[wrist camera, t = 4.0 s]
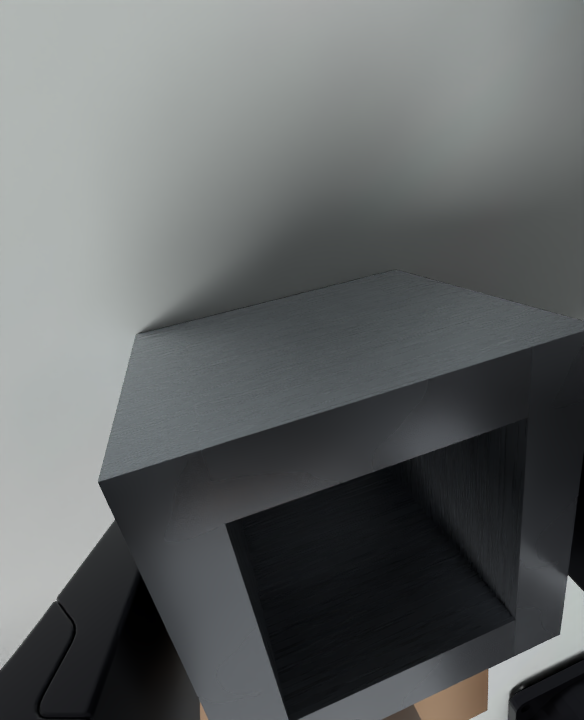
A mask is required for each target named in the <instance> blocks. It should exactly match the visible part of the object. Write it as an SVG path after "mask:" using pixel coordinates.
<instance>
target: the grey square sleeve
mask: <svg viewBox="0 0 584 720" xmlns="http://www.w3.org/2000/svg"><path fill="white" fill-rule="evenodd" d="M583 454H584V321H582V320H579V319H575V318H571V317H568V316H564V315H560V314H557V313H553V312H549V311H546V310H542V309H538V308H535V307H531V306H527V305H524V304H520V303H517V302H513V301H509V300H506V299H502V298H498V297H495V296H491V295H487V294H484V293H480V292H476V291H473V290H469V289H465V288H462V287H458V286H454V285H451V284H447V283H443V282H440V281H436V280H432V279H429V278H425V277H422V276H418V275H414V274H411V273H407V272H403V271H400V270H393V271H389V272H385V273H381V274H377V275H373V276H369V277H365V278H361V279H357V280H353V281H349V282H345V283H341V284H337V285H333V286H329V287H325V288H321V289H317V290H313V291H309V292H305V293H301V294H297V295H293V296H289V297H285V298H281V299H277V300H273V301H269V302H265V303H261V304H257V305H253V306H249V307H245V308H241V309H237V310H233V311H229V312H225V313H221V314H217V315H213V316H209V317H205V318H201V319H197V320H193V321H189V322H185V323H181V324H177V325H173V326H169V327H165V328H161V329H157V330H153V331H149V332H145V333H141V334H137V335H136V336H135V340H134V344H133V348H132V352H131V356H130V360H129V364H128V367H127V371H126V375H125V379H124V383H123V387H122V391H121V395H120V398H119V402H118V406H117V410H116V414H115V418H114V422H113V426H112V429H111V433H110V437H109V441H108V445H107V449H106V453H105V457H104V460H103V464H102V468H101V472H100V476H99V480H98V483H99V485H100V487H101V490H102V492H103V494H104V496H105V498H106V500H107V503H108V505H109V507H110V509H111V511H112V513H113V515H114V518H115V520H116V522H117V524H118V526H119V528H120V531H121V533H122V535H123V537H124V539H125V541H126V543H127V546H128V548H129V550H130V552H131V554H132V556H133V558H134V561H135V563H136V565H137V567H138V569H139V571H140V574H141V576H142V578H143V580H144V582H145V584H146V586H147V589H148V591H149V593H150V595H151V597H152V599H153V602H154V604H155V606H156V608H157V610H158V612H159V614H160V617H161V619H162V621H163V623H164V625H165V627H166V630H167V632H168V634H169V636H170V638H171V640H172V642H173V645H174V647H175V649H176V651H177V653H178V655H179V657H180V660H181V662H182V664H183V666H184V668H185V670H186V673H187V675H188V677H189V679H190V681H191V683H192V685H193V688H194V690H195V692H196V694H197V696H198V698H199V701H200V703H201V705H202V707H203V709H204V711H205V713H206V716H207V718H208V720H382V719H384V718H386V717H388V716H390V715H392V714H394V713H396V712H398V711H401V710H403V709H405V708H407V707H409V706H411V705H413V704H415V703H417V702H419V701H421V700H424V699H426V698H428V697H430V696H432V695H434V694H436V693H438V692H440V691H442V690H445V689H447V688H449V687H451V686H453V685H455V684H457V683H459V682H461V681H463V680H465V679H468V678H470V677H472V676H474V675H476V674H478V673H480V672H482V671H484V670H486V669H488V668H491V667H493V666H495V665H497V664H499V663H501V662H503V661H505V660H507V659H509V658H511V657H514V656H516V655H518V654H520V653H522V652H524V651H526V650H528V649H530V648H532V647H535V646H537V645H539V644H541V643H543V642H545V641H547V640H549V639H551V638H553V637H555V636H558V635H560V630H561V622H562V614H563V607H564V599H565V592H566V584H567V576H568V569H569V561H570V553H571V546H572V538H573V531H574V523H575V515H576V508H577V500H578V493H579V485H580V477H581V470H582V462H583Z"/></svg>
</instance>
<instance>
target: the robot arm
mask: <svg viewBox="0 0 584 720" xmlns="http://www.w3.org/2000/svg"><path fill="white" fill-rule="evenodd" d="M568 575H569V576H570V577H571V578H572V580H573V581H574V582H575V583H576V584H577V585H578V586H579V587H580V588H581V589H582V590H583V591H584V454H583V462H582V470H581V477H580V485H579V493H578V500H577V508H576V515H575V523H574V531H573V538H572V546H571V553H570V561H569V569H568ZM0 720H200V701H199V698H198V696H197V694H196V692H195V690H194V688H193V685H192V683H191V681H190V679H189V677H188V675H187V673H186V670H185V668H184V666H183V664H182V662H181V660H180V657H179V655H178V653H177V651H176V649H175V647H174V645H173V642H172V640H171V638H170V636H169V634H168V632H167V630H166V627H165V625H164V623H163V621H162V619H161V617H160V614H159V612H158V610H157V608H156V606H155V604H154V602H153V599H152V597H151V595H150V593H149V591H148V589H147V586H146V584H145V582H144V580H143V578H142V576H141V574H140V571H139V569H138V567H137V565H136V563H135V561H134V558H133V556H132V554H131V552H130V550H129V548H128V546H127V543H126V541H125V539H124V537H123V535H122V533H121V531H120V528H119V526H118V524H117V522H116V520H114V522H113V523H112V524H111V526H110V527H109V529H108V530H107V531H106V533H105V534H104V535H103V537H102V538H101V539H100V541H99V542H98V543H97V545H96V546H95V547H94V549H93V550H92V551H91V553H90V554H89V555H88V557H87V558H86V559H85V561H84V562H83V563H82V565H81V566H80V567H79V569H78V570H77V571H76V573H75V574H74V575H73V577H72V578H71V579H70V581H69V582H68V584H67V585H66V586H65V588H64V589H63V590H62V592H61V593H60V594H59V596H58V597H57V601H55V602H53V603H52V605H51V606H50V607H49V609H48V610H47V611H46V613H45V614H44V615H43V617H42V618H41V619H40V621H39V622H38V623H37V625H36V626H35V627H34V629H33V630H32V631H31V632H30V634H29V635H28V636H27V638H26V639H25V640H24V641H23V643H22V644H21V645H20V647H19V648H18V649H17V650H16V652H15V653H14V654H13V656H12V657H11V658H10V659H9V660H8V662H7V663H6V664H5V665H4V666H3V668H2V669H1V670H0ZM508 720H584V660H582V661H580V662H578V663H576V664H574V665H572V666H570V667H568V668H566V669H564V670H562V671H560V672H558V673H556V674H554V675H552V676H550V677H548V678H546V679H544V680H542V681H540V682H538V683H536V684H534V685H532V686H530V687H528V688H526V689H524V690H522V691H520V692H518V693H517V694H515V695H514V696H513V697H512V698H511V700H510V702H509V711H508Z"/></svg>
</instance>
